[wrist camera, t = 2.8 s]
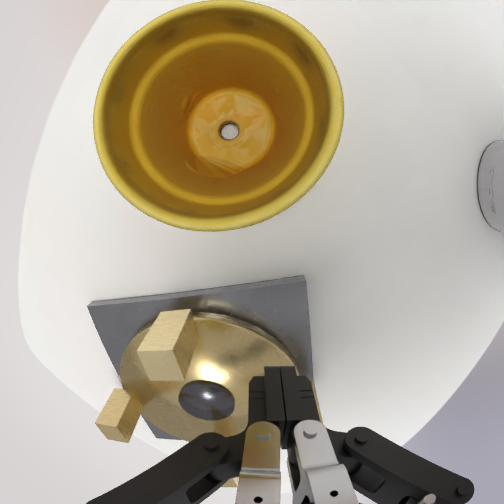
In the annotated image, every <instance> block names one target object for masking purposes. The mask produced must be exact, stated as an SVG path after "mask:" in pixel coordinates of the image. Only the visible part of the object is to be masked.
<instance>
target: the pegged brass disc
mask: <svg viewBox="0 0 504 504" xmlns="http://www.w3.org/2000/svg"><path fill="white" fill-rule="evenodd" d="M264 366H279V367H280V366H295V369H296V374H297V376H300V375H299V371H298V368H297V365H296V363H295V361H294V359H293V358H292V356H291V354H290V353H289V352H288V351H287V350H286V348H285V347H284V346H283V345H282V344H281V343H280V342H279V341H277V340H276V339H275V338H274V337H273V336H271V335H270V334H268V333H267V332H265V331H264V330H262V329H260V328H258V327H256V326H254V325H252V324H250V323H247V322H245V321H242V320H240V319H237V318H233V317H230V316H226V315H221V314H215V313H207V312H192V310H191V309H184V310H174V311H164V312H160V314H159V316H158V317H157V319H156V320H154V321H152V322H150V323H149V324H147V325H146V326H144V327H143V328H142V329H141V330H140V331H138V332H137V333H136V334H135V336H134V337H133V339H132V340H131V342H130V343H129V345H128V346H127V348H126V349H125V351H124V353H123V355H122V358H121V362H120V379H121V383H122V386H123V389H117V388H115V389H114V390H113V392H112V394H111V396H110V397H109V399H108V401H107V403H106V404H105V406H104V408H103V410H102V412H101V413H100V415H99V417H98V419H97V421H96V422H95V424H96V425H97V426H98V427H99V429H100V430H101V432H102V433H103V434H104V435H105V436H106V438H107V439H110V440H115V441H121V442H126V443H129V440H130V438H131V436H132V433H133V431H134V428H135V426H136V424H137V421H138V419H139V416H140V414H141V415H142V416H143V417H144V418H145V419H147V420H148V421H149V422H151V423H152V424H153V425H155V426H156V427H158V428H159V429H161V430H163V431H164V432H166V433H168V434H170V435H172V436H175V437H177V438H180V439H182V440H185V441H188V442H191V441H192V440H193V439H195V438H196V437H198V436H199V435H201V434H203V433H207V432H214V433H218V434H221V435H223V436H224V437H229V436H234V435H237V434H239V433H241V432H242V431H244V430H245V428H246V427H247V425H248V399H249V382H250V381H251V379H252V377H253V376H263V373H264ZM310 381H311V384H312V388H313V392H314V398H315V401H316V405H317V409H318V413H319V418H320V421H321V423H322V424H323V422H322V417H321V413H320V408H319V403H318V399H317V394H316V390H315V385H314V381H313V379H312V380H310ZM221 487H238V477H235V478H231V479H229V480H228V481H227V482H226V483H225V484H224V485H222V486H221Z"/></svg>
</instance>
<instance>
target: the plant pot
mask: <svg viewBox="0 0 504 504" xmlns="http://www.w3.org/2000/svg"><path fill="white" fill-rule="evenodd" d="M343 118H344V101H343V92H342V87H341V83H340V79H339V76H338V73H337V71H336V68H335V66H334V64H333V62H332V60H331V58H330V56H329V55H328V53H327V51H326V50H325V48H324V47H323V46H322V44H321V43H320V42H319V41H318V40H317V38H316V37H315V36H314V35H313V34H312V33H311V32H310V31H309V30H308V29H306V28H305V27H304V26H303V25H301V24H300V23H299V22H297V21H296V20H294V19H293V18H291V17H290V16H288V15H286V14H284V13H282V12H280V11H278V10H276V9H274V8H271V7H268V6H265V5H262V4H258V3H254V2H249V1H243V0H209V1H202V2H197V3H192V4H188V5H185V6H182V7H179V8H176V9H174V10H171V11H169V12H167V13H165V14H163V15H161V16H159V17H157V18H155V19H154V20H152V21H151V22H149V23H148V24H146V25H145V26H144V27H142V28H141V29H140V30H138V31H137V32H136V33H135V34H134V35H133V36H132V37H131V38H130V39H129V40H128V41H127V42H126V43H125V44H124V45H123V46H122V47H121V48H120V50H119V51H118V52H117V53H116V55H115V56H114V58H113V59H112V61H111V62H110V64H109V66H108V67H107V69H106V71H105V73H104V76H103V78H102V80H101V83H100V86H99V89H98V92H97V96H96V101H95V106H94V115H93V129H94V139H95V144H96V149H97V152H98V156H99V159H100V161H101V164H102V166H103V169H104V171H105V173H106V175H107V176H108V178H109V179H110V181H111V182H112V184H113V185H114V187H115V188H116V189H117V190H118V191H119V193H120V194H121V195H122V196H123V197H124V198H125V199H126V200H127V201H129V202H130V203H131V204H132V205H133V206H134V207H136V208H137V209H139V210H140V211H142V212H143V213H145V214H146V215H148V216H150V217H152V218H154V219H156V220H158V221H160V222H163V223H165V224H168V225H171V226H174V227H178V228H182V229H187V230H193V231H227V230H234V229H239V228H243V227H247V226H251V225H254V224H257V223H260V222H262V221H265V220H267V219H269V218H271V217H273V216H275V215H277V214H279V213H281V212H282V211H284V210H286V209H287V208H289V207H290V206H291V205H293V204H294V203H296V202H297V201H298V200H299V199H300V198H302V197H303V196H304V195H305V194H306V193H307V192H308V191H309V190H310V189H311V188H312V187H313V186H314V185H315V183H316V182H317V181H318V180H319V178H320V177H321V176H322V175H323V173H324V172H325V170H326V168H327V167H328V165H329V164H330V162H331V160H332V158H333V156H334V153H335V151H336V148H337V146H338V143H339V140H340V136H341V131H342V126H343ZM226 123H233V124H235V125H236V126H237V127H238V130H239V133H238V135H237V136H236V137H235V138H234V139H230V140H227V139H224V138H223V137H222V136H221V134H220V130H221V128H222V126H223V125H225V124H226Z"/></svg>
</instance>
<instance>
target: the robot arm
mask: <svg viewBox="0 0 504 504" xmlns="http://www.w3.org/2000/svg"><path fill="white" fill-rule="evenodd" d="M478 193H479V201H480V206H481V209H482V212H483V215H484V217H485V219H486V221H487V222H488V223H489V225H490V226H491V227H492V228H494V229H496V230H498V231H501V232H503V233H504V141H496V142H493V143H492V144H490V145H489V146H488V147H487V149H486V150H485V152H484V154H483V156H482V159H481V163H480V167H479V174H478ZM280 447H281V448H282V449H287V451H288V458H287V467H288V472H289V477H290V482H291V487H292V492H293V504H361V503H358V500H357V497H356V494H355V491H354V489H355V490H356V491H358V492H359V493H361V494H363V495H364V496H366V497H368V498H369V499H371V500H372V501H374V502H376V503H377V504H465V503H467V502H468V501H469V500H470V499H471V498H472V496H473V494H474V485H473V483H472V482H471V481H470V480H469V479H467V478H464V477H462V476H459V475H457V474H455V473H453V472H451V471H449V470H446V469H444V468H442V467H440V466H438V465H436V464H434V463H432V462H430V461H428V460H426V459H424V458H422V457H420V456H418V455H416V454H414V453H412V452H410V451H408V450H406V449H404V448H403V447H401V446H399V445H397V444H395V443H393V442H392V441H390V440H388V439H386V438H384V437H383V436H381V435H379V434H378V433H376V432H374V431H372V430H371V429H369V428H366V427H355V428H353V429H351V430H349V431H348V433H344V432H337V431H332V430H330V429H328V428H326V427H325V426H324V425H323V424H322V423H321V421H320V418H319V413H318V409H317V405H316V401H315V398H314V392H313V388H312V384H311V381H310V380H309V379H308V378H307V377H306V376H305V375H301V376H297V374H296V369H295V366H280V367H279V366H264V373H263V376H253V377H252V379H251V381H250V382H249V399H248V425H247V427H246V428H245V430H244V431H242V432H241V433H239V434H237V435H234V436H229V437H224V436H223V435H221V434H218V433H214V432H207V433H203V434H201V435H199V436H198V437H196V438H195V439H193V440H192V441H191V442H189V443H188V444H186V445H185V446H183V447H182V448H180V449H179V450H177V451H176V452H174V453H173V454H171V455H170V456H168V457H167V458H165V459H164V460H162V461H161V462H159V463H158V464H156V465H155V466H153V467H151V468H150V469H148V470H146V471H144V472H143V473H141V474H140V475H138V476H136V477H134V478H133V479H131V480H129V481H127V482H126V483H124V484H122V485H120V486H118V487H117V488H114V489H113V490H111V491H109V492H107V493H105V494H103V495H101V496H99V497H97V498H95V499H93V500H91V501H89V502H87V503H86V504H200V503H201V502H202V501H203V500H205V499H206V498H207V497H209V496H210V495H211V494H212V493H213V492H215V491H216V490H217V489H219V488H220V487H221V486H222V485H224V484H225V483H226V482H227V481H228V480H229V479H231V478H235V477H239V481H238V489H237V496H236V503H235V504H280V490H281V472H280Z"/></svg>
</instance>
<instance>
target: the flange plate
mask: <svg viewBox="0 0 504 504" xmlns="http://www.w3.org/2000/svg"><path fill="white" fill-rule="evenodd" d="M87 307H88V310H89V312H90V315H91V317H92V320H93V322H94V324H95V327H96V329H97V331H98V334H99V336H100V338H101V340H102V343H103V345H104V347H105V349H106V351H107V353H108V355H109V358H110V360H111V362H112V364H113V366H114V368H115V369H116V371H117V373H118V378H119V380H120V382H121V379H120V362H121V358H122V355H123V353H124V351H125V349H126V348H127V346H128V345H129V343H130V342H131V340H132V339H133V337H134V336H135V334H136V333H137V332H138V331H140V330H141V329H142V328H143V327H144V326H146V325H147V324H149V323H150V322H152V321H154V320H156V319H157V317H158V316H159V314H160V312H164V311H174V310H184V309H191V310H192V312H207V313H215V314H221V315H226V316H230V317H233V318H237V319H240V320H242V321H245V322H247V323H250V324H252V325H254V326H256V327H258V328H260V329H262V330H264V331H265V332H267V333H268V334H270V335H271V336H273V337H274V338H275V339H276V340H277V341H279V342H280V343H281V344H282V345H283V346H284V347H285V348H286V350H287V351H288V352H289V353H290V354H291V356H292V358H293V359H294V361H295V363H296V365H297V368H298V371H299V375H300V376H301V375H305V376H306V377H307V378H308V379H309V380H312V379H313V368H312V352H311V337H310V324H309V312H308V300H307V290H306V280H305V277H304V275H302V276H295V277H289V278H282V279H275V280H269V281H262V282H255V283H248V284H240V285H233V286H226V287H218V288H211V289H203V290H195V291H187V292H178V293H170V294H161V295H152V296H143V297H134V298H124V299H114V300H104V301H93V302H91V303H90V304H89V305H88V306H87ZM121 384H122V383H121ZM142 417H143V416H142ZM143 418H144V417H143ZM144 420H145V422H146V423H147V425H148V426H149V428H150V429H151V431H152V432H153V434H154V435H155V437H156V438H163V439H176V440H182V439H180V438H177V437H175V436H172V435H170V434H168V433H166V432H164V431H163V430H161V429H159V428H158V427H156V426H155V425H153V424H152V423H151V422H149V421H148V420H147V419H145V418H144Z"/></svg>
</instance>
